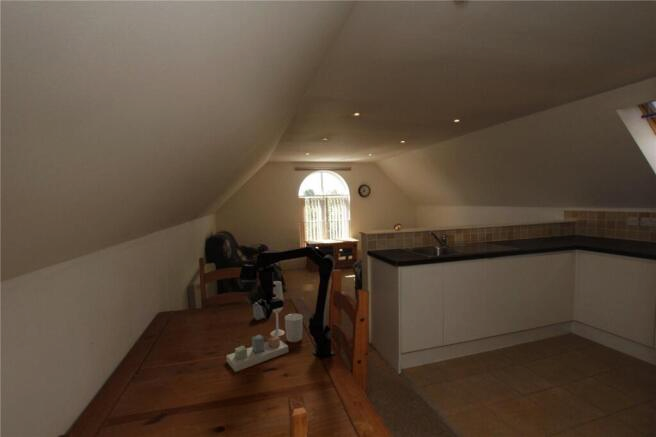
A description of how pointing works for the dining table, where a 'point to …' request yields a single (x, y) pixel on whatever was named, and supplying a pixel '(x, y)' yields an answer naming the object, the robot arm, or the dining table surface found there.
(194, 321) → the dining table surface
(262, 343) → the grey rectangular block
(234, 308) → the dining table surface
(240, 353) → the pale green block
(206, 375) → the dining table surface
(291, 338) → the white cup
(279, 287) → the champagne flute
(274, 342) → the terracotta button
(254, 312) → the medicine box
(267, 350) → the button board
